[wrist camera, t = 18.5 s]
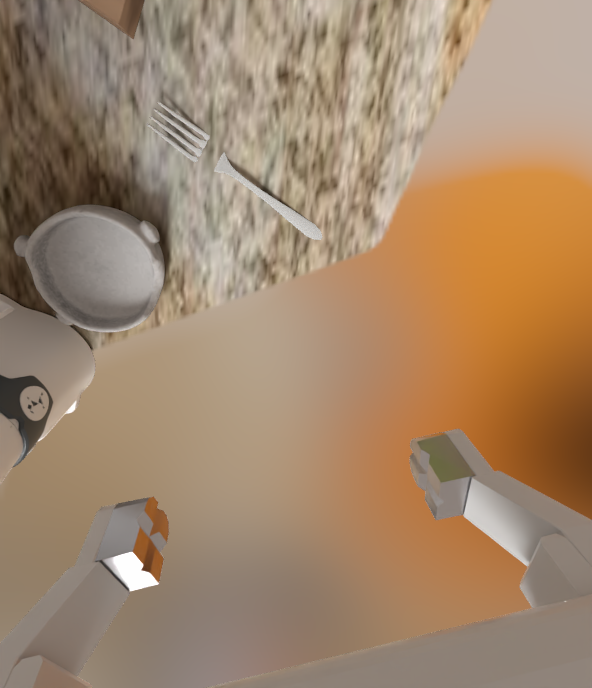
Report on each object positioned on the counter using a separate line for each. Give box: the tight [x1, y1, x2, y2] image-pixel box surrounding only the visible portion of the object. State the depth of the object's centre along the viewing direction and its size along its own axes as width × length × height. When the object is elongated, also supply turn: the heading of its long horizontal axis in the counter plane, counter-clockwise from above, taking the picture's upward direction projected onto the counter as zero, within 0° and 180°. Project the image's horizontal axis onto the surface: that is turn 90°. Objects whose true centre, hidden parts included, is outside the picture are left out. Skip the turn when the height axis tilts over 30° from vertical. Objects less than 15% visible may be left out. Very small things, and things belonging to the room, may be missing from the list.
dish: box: [14, 205, 165, 332], centre depth 37 cm, size 14×14×5 cm
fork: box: [147, 101, 322, 240], centre depth 36 cm, size 3×24×2 cm, turn 54°
